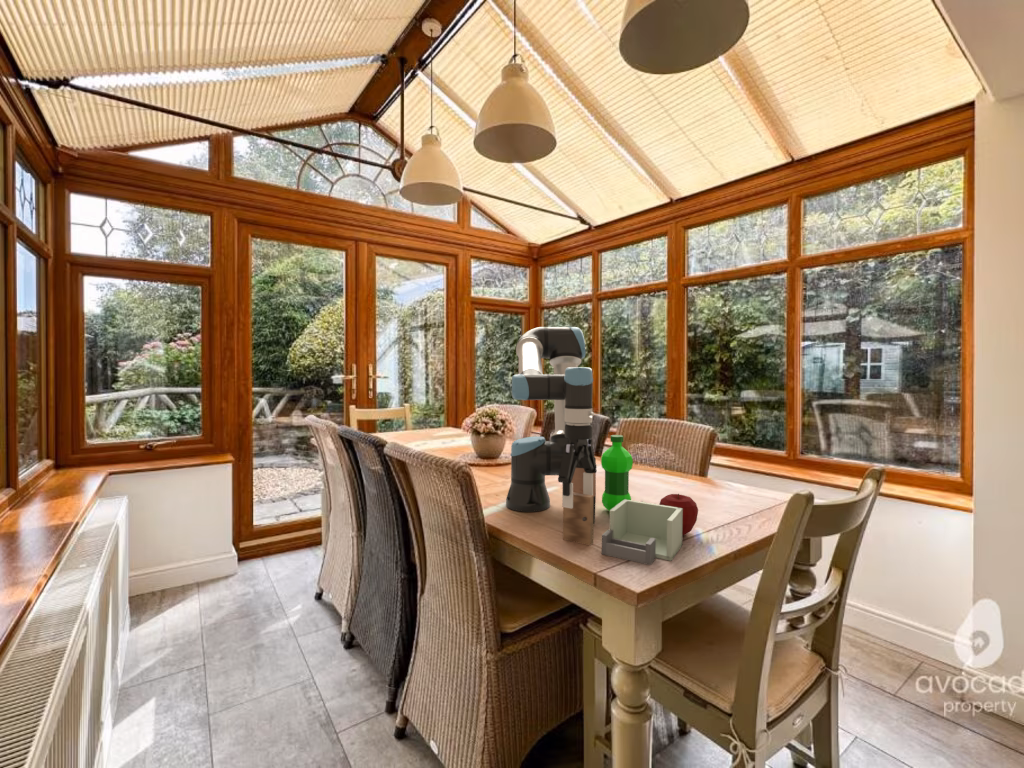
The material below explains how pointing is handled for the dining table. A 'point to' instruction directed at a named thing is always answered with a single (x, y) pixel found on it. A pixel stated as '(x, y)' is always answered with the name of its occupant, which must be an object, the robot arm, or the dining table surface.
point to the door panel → (579, 520)
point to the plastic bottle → (616, 473)
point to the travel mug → (578, 483)
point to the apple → (688, 509)
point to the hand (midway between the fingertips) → (578, 501)
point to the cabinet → (643, 532)
